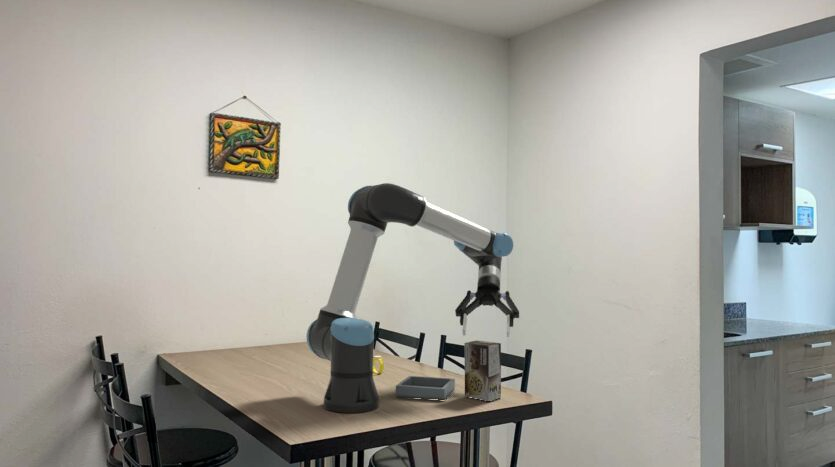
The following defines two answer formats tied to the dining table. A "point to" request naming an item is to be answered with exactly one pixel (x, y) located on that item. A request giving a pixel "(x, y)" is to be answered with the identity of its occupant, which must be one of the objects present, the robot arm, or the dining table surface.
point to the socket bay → (425, 388)
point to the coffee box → (483, 370)
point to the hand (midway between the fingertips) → (485, 333)
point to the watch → (380, 364)
